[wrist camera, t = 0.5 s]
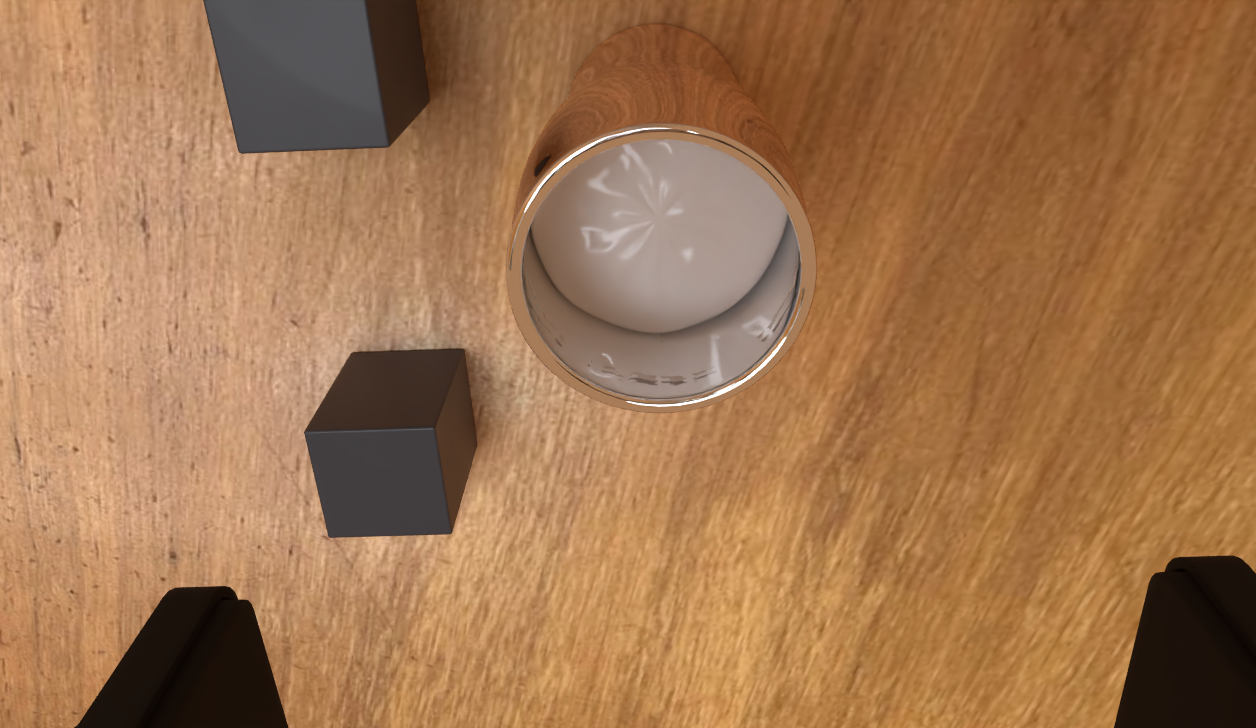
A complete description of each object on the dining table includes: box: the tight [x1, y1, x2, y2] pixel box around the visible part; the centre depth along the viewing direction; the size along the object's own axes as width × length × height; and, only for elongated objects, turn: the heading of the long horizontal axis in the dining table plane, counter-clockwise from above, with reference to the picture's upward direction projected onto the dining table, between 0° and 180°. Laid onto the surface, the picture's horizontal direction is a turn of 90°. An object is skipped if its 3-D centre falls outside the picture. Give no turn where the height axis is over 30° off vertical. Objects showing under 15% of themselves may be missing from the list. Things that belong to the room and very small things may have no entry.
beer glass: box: [506, 24, 817, 413], centre depth 27 cm, size 7×7×15 cm
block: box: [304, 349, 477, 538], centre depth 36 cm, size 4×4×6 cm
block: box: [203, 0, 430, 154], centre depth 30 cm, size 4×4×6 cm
